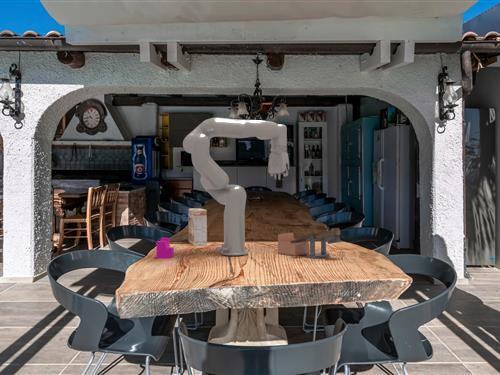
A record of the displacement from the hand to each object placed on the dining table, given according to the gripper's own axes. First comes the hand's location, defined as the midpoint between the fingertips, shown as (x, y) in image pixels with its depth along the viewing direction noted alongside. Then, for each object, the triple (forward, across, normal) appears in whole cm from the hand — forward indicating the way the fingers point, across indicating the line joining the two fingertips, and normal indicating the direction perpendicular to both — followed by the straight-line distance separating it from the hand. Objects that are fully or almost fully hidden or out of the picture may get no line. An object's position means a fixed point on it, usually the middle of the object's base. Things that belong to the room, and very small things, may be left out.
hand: (279, 188), depth 228 cm
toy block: (+30, -26, -48) cm, 62 cm away
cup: (+30, +12, -4) cm, 33 cm away
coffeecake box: (+30, -40, -19) cm, 54 cm away
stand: (+30, +26, -4) cm, 40 cm away
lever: (+22, +26, -4) cm, 34 cm away
